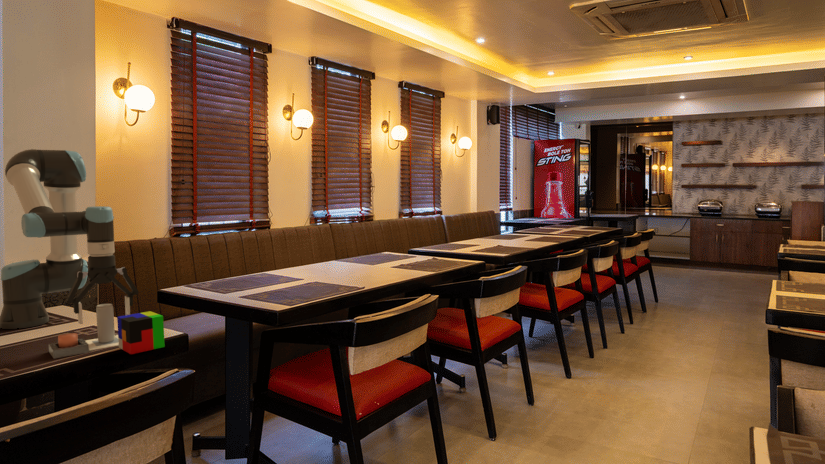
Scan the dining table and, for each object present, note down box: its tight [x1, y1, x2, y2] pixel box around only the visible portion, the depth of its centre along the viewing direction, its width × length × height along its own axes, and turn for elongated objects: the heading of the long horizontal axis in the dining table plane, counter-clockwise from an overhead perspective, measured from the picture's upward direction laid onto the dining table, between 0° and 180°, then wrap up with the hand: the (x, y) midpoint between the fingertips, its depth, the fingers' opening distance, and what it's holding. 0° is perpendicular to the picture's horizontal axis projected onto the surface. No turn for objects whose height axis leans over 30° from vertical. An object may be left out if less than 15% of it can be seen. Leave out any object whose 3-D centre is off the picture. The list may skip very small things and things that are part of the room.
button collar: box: [48, 337, 90, 360], centre depth 163 cm, size 9×9×2 cm
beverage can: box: [95, 303, 116, 343], centre depth 173 cm, size 5×5×12 cm
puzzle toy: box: [116, 310, 166, 355], centre depth 167 cm, size 10×10×10 cm
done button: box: [57, 332, 79, 348], centre depth 163 cm, size 5×5×4 cm
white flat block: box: [84, 334, 119, 352], centre depth 173 cm, size 13×12×1 cm
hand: (104, 319), depth 173 cm, fingers open, 13 cm apart
